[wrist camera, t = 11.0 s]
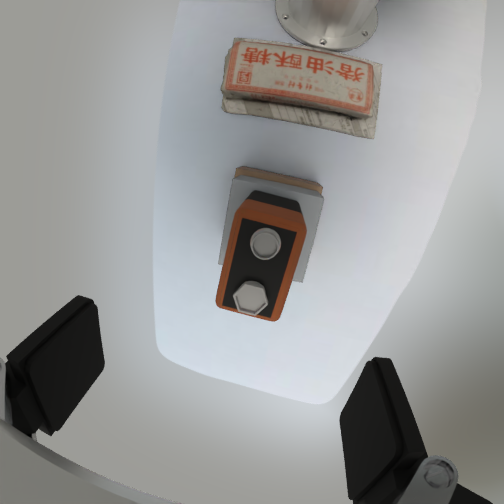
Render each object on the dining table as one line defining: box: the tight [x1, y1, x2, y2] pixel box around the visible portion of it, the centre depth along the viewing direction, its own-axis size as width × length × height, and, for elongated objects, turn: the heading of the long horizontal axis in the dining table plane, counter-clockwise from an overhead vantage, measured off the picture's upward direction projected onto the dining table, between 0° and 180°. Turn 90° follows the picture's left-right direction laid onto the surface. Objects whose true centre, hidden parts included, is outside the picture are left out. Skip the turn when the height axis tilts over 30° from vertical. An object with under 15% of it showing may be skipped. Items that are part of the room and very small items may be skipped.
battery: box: [216, 190, 307, 321], centre depth 22 cm, size 4×7×10 cm, turn 167°
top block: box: [218, 175, 324, 282], centre depth 29 cm, size 8×8×5 cm
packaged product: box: [221, 38, 382, 139], centre depth 29 cm, size 18×5×10 cm
